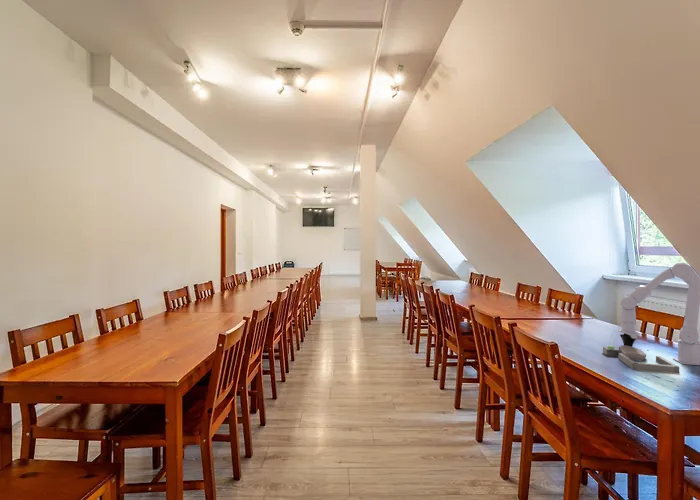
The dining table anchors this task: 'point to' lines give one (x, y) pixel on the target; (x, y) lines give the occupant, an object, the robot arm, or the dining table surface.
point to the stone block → (632, 352)
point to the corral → (664, 367)
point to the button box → (610, 351)
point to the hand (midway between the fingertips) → (627, 350)
